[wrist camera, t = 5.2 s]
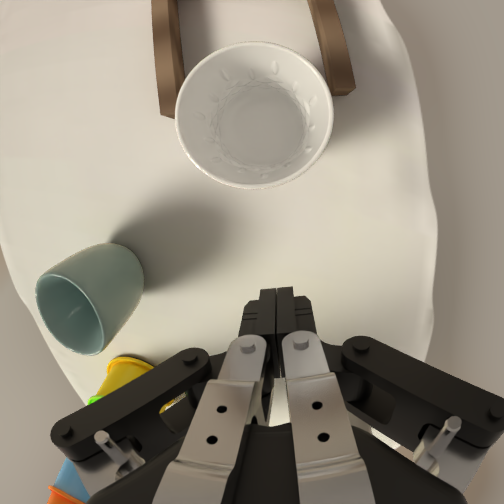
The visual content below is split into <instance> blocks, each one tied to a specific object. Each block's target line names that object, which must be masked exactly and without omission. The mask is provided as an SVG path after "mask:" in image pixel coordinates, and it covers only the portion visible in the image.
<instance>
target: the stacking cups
mask: <svg viewBox="0 0 504 504" xmlns="http://www.w3.org/2000/svg"><path fill="white" fill-rule="evenodd" d="M153 368H154V367H153V366H151V365H149V364H148V363H146V362H143V361H141V360H138V359H135V358H131V357H117V358H114V359H113V360H111V361H110V362H109V364H108V366H107V377H106V379H105V380H104V382H103V384H102V385H101V387H100V389H99V391H98V392H97V394H96V395H95V396H92V397H91V398H90V399H89V400H88V405H89V404H91V403H93V402H95V401H97V400H98V399H100V398H102V397H104V396H106V395H107V394H109V393H111V392H113V391H115V390H116V389H118V388H120V387H122V386H123V385H125V384H127V383H129V382H130V381H132V380H134V379H136V378H137V377H139V376H141V375H142V374H144V373H146V372H148V371H149V370H151V369H153ZM173 401H174V399H173V400H172V401H170V402H168V403H167V404H165V405H164V406H163V407H162V408H161V410H160V413H162V412H164V411H165V408H166V407H167V406H169V405H171V404H172V403H173ZM48 488H49V489H50V490H51V491H52V493H51V495H50V498H49V500H48V502H47V504H85V503H86V502H87V501H88V499H89V498H90V496H89V494H88V492H87V490H86V489H85V487H84V485H83V483H82V481H81V479H80V477H79V475H78V473H77V471H76V469H75V467H74V465H73V463H72V462H71V461H70V460H69V459H68V458H67V457H66V460H65V462H64V464H63V466H62V468H61V470H60V472H59V474H58V476H57V479H56V481H55V484H54V486H48Z"/></svg>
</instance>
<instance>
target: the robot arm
mask: <svg viewBox="0 0 504 504" xmlns="http://www.w3.org/2000/svg"><path fill="white" fill-rule="evenodd" d="M280 367H281V376H282V378H283V377H285V380H286V390H287V399H288V408H289V417H290V423H286V424H282V425H278V426H274V427H269V420H270V414H271V407H272V400H273V387H274V378H280ZM184 392H185V394H186V397H185V398H183V399H182V400H180V401H179V402H177V403H176V404H174V405H173V406H171V407H170V408H168V409H167V410H165V411H164V412H162V413H160V410H161V408H162V407H163V406H164V405H165V404H167V403H168V402H170V401H172V400H173V399H175V398H176V397H178V396H179V395H181V394H182V393H184ZM370 426H371V427H373V428H375V429H376V430H378V431H379V432H381V433H382V434H384V435H386V436H387V437H389V438H390V439H392V440H394V441H395V442H397V443H399V444H400V445H402V446H404V447H405V448H407V449H409V450H411V451H412V452H414V453H413V459H414V462H412V461H411V460H409V459H408V458H406V457H404V456H403V455H401V454H400V453H398V452H397V451H395V450H394V449H392V448H391V447H389V446H388V445H387V444H385V443H384V442H382V441H381V440H379V439H378V438H376V437H375V436H374V435H372V431H371V427H370ZM503 433H504V398H502V397H500V396H497V395H495V394H493V393H490V392H488V391H485V390H483V389H481V388H479V387H477V386H474V385H472V384H470V383H468V382H465V381H463V380H461V379H459V378H456V377H454V376H452V375H450V374H447V373H445V372H443V371H441V370H439V369H437V368H434V367H432V366H430V365H428V364H426V363H424V362H421V361H419V360H417V359H415V358H413V357H411V356H409V355H407V354H404V353H402V352H400V351H398V350H396V349H394V348H392V347H390V346H388V345H386V344H383V343H381V342H379V341H377V340H375V339H373V338H371V337H367V336H355V337H352V338H349V339H348V340H346V341H345V342H344V343H343V345H342V346H335V345H330V344H327V343H324V342H323V341H321V340H320V339H319V337H318V336H317V332H316V327H315V321H314V316H313V311H312V306H311V301H310V300H309V299H308V298H307V297H306V296H297V297H294V295H293V286H292V287H282V288H277V290H276V288H272V289H261V290H260V297H259V300H253V301H249V302H248V304H247V305H246V306H245V307H244V311H243V316H242V321H241V326H240V330H239V335H238V338H236V339H235V340H233V341H232V342H231V344H230V346H229V348H228V351H227V352H224V353H221V354H218V355H213V356H209V355H208V353H207V352H206V351H205V350H203V349H200V348H189V349H185V350H183V351H181V352H179V353H177V354H176V355H174V356H173V357H171V358H169V359H168V360H166V361H164V362H163V363H161V364H159V365H158V366H156V367H154V368H153V369H151V370H149V371H148V372H146V373H144V374H142V375H141V376H139V377H137V378H136V379H134V380H132V381H130V382H129V383H127V384H125V385H123V386H122V387H120V388H118V389H116V390H115V391H113V392H111V393H109V394H107V395H106V396H104V397H102V398H100V399H98V400H97V401H95V402H93V403H91V404H89V405H87V406H86V407H84V408H82V409H80V410H78V411H76V412H74V413H72V414H70V415H68V416H67V417H65V418H63V419H61V420H59V421H58V422H56V423H55V425H54V426H53V428H52V430H51V434H50V436H51V440H52V442H53V443H54V444H55V445H56V446H57V447H58V448H59V449H60V450H61V451H62V452H63V453H64V454H65V456H66V457H67V458H68V459H69V460H70V461H71V462H72V463H73V465H74V467H75V469H76V471H77V473H78V475H79V477H80V479H81V481H82V483H83V485H84V487H85V489H86V490H87V492H88V494H89V496H90V498H89V499H88V501H87V502H86V503H85V504H467V501H466V499H465V497H464V496H463V493H464V492H465V490H466V488H467V486H468V485H469V484H470V482H471V480H472V479H473V477H474V475H475V474H476V472H477V470H478V468H479V467H480V465H481V463H482V461H483V459H484V457H485V455H486V453H487V451H488V450H489V449H490V448H491V447H492V446H493V445H494V443H495V442H496V441H497V440H498V439H499V437H500V436H501V435H502V434H503Z"/></svg>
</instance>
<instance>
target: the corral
mask: <svg viewBox="0 0 504 504" xmlns="http://www.w3.org/2000/svg"><path fill="white" fill-rule="evenodd" d="M307 1H308V4H309V8H310V11H311V15H312V18H313V22H314V26H315V30H316V34H317V38H318V42H319V46H320V50H321V55H322V59H323V64H324V68H325V73H326V78H327V83H328V88H329V90H330V93H331V96H340V95H348V94H349V93H350V92H351V91H353V90H354V89H355V88H356V85H355V80H354V75H353V71H352V66H351V62H350V57H349V53H348V49H347V45H346V41H345V38H344V34H343V30H342V27H341V23H340V20H339V17H338V14H337V10H336V7H335V4H334V1H333V0H307ZM151 4H152V28H153V44H154V57H155V68H156V79H157V88H158V97H159V105H160V113H161V115H163V116H166V117H170V118H173V119H175V108H176V102H177V98H178V94H179V91H180V89H181V87H182V85H183V83H184V81H185V73H184V65H183V56H182V47H181V38H180V28H179V17H178V6H177V0H151Z"/></svg>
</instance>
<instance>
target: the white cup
mask: <svg viewBox="0 0 504 504" xmlns="http://www.w3.org/2000/svg"><path fill="white" fill-rule="evenodd" d="M333 123H334V107H333V101H332V97H331V93H330V90H329V88H328V86H327V84H326V82H325V80H324V78H323V77H322V75H321V74H320V72H319V71H318V70H317V69H316V68H315V66H314V65H313V64H312V63H311V62H309V61H308V60H307V59H306V58H305V57H303V56H302V55H300V54H299V53H297V52H295V51H293V50H291V49H289V48H287V47H284V46H281V45H278V44H274V43H269V42H260V41H250V42H241V43H236V44H232V45H229V46H226V47H223V48H221V49H219V50H217V51H215V52H213V53H212V54H210V55H208V56H207V57H206V58H204V59H203V60H202V61H201V62H199V63H198V64H197V65H196V66H195V67H194V68H193V70H192V71H191V72H190V73H189V75H188V76H187V78H186V79H185V81H184V83H183V85H182V87H181V89H180V91H179V94H178V98H177V102H176V108H175V125H176V131H177V135H178V138H179V141H180V143H181V146H182V148H183V150H184V151H185V153H186V155H187V156H188V157H189V159H190V160H191V161H192V162H193V164H194V165H195V166H196V167H197V168H198V169H200V170H201V171H202V172H203V173H205V174H206V175H207V176H209V177H210V178H212V179H214V180H216V181H218V182H220V183H223V184H225V185H228V186H232V187H236V188H242V189H266V188H271V187H276V186H279V185H282V184H285V183H287V182H289V181H291V180H293V179H295V178H297V177H299V176H300V175H302V174H303V173H304V172H306V171H307V170H308V169H309V168H310V167H311V166H312V165H313V164H314V163H315V162H316V161H317V160H318V159H319V157H320V156H321V155H322V153H323V152H324V150H325V148H326V146H327V144H328V142H329V139H330V136H331V133H332V129H333Z"/></svg>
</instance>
